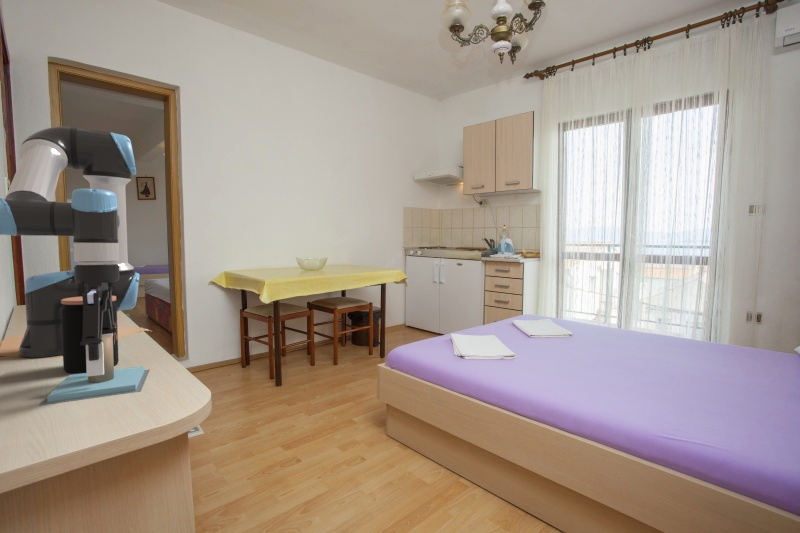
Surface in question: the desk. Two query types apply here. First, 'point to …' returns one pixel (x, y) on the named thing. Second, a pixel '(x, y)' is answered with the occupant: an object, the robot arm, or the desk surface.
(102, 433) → the desk surface
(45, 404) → the mat
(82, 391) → the lid
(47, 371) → the desk surface
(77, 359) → the coffee jar
